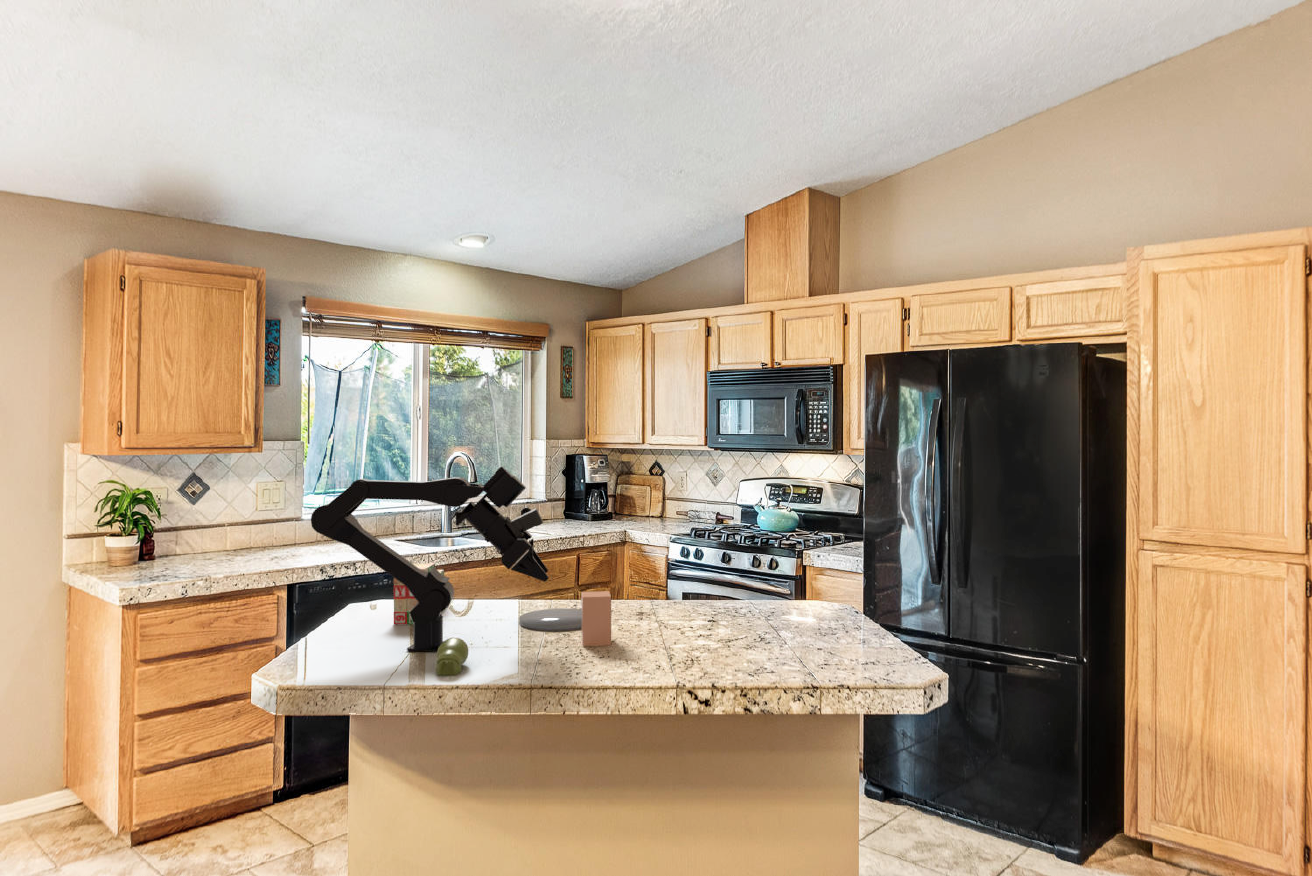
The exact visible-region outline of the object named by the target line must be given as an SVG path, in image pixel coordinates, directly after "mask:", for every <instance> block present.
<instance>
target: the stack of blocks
mask: <svg viewBox="0 0 1312 876" xmlns="http://www.w3.org/2000/svg"><path fill="white" fill-rule="evenodd" d="M411 563H412V564H413V565H414V566H416V567H417V568H419V569H421V570H423V571H426V572H429V571H430V570H431V569H432V568H433V567H434V568H435V563H434V562H433V563H431V562H430V563H429V562H428V563H424V562H423V563H413V562H411ZM437 570H438V571H439V572H440V573H441V574H442V575H443V576H445V570H444V569H437ZM417 603H418V601H417V600H416V599H415V598H414V596H413V595H412V593H411V592H410V591H409V589H408V588H407V587H406V586H405V585H404V584H402V583H401V582H400V581H398V580H397V579H395V578H394V577H393V625H394V624H407V625H413V620H412V618H411V615H410V611H411V610H412V609H413V608H414V607H415V605H416V604H417Z"/></svg>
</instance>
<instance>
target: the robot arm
mask: <svg viewBox="0 0 1312 876" xmlns="http://www.w3.org/2000/svg"><path fill="white" fill-rule="evenodd" d="M526 489H527V487H526V486H525V485H524V484H523V483H522V482H521V481H520V479H519V478H518V477H516V476H515V475H513V474H511V473H510V472H509V471H508V470H507V469H506V468H504V467H503V466H499V468H498V469H496V471H495V473H494V474H493V475H492V476H491V477H490V478H489V480H487V481H486V483H485V484H481V483H470V482H469V480H467V479H466V478H464V477H462V476H455V477H448V478H441V479H435V480H429V481H417V480H416V481H415V480H414V481H411V480H383V479H382V480H380V479H379V480H378V479H377V480H374V479H369V478H368V479H367V478H359V479H356V480H355V481H352V483H351V485H349V486H348V488H346V489H345V490H344V491H343V492H342V493H340V494H339V495H338V496H337V497H335V498H334V499H333V500H332V501H330V502H329V503H327V504H324V505H321V506H319V507H317V508H315V510H313V512H312V513H311V517H310V524H311V528H312V529H313V530H314V531H315V532H317V533H318V534H320V535H322V536H324V537H326V538H328V539H331V540H333V541H336V542H339V543H341V544H345V545H346V546H349V547H350V548H351V549H353V550H355V551H356V552H357V553H359V554H360V555H362V556H363V557H364V558H366V559H368V561H370V562H371V563H373V564H374V565H376V566H377V567H378V568H380V569H381V570H383V571H384V572H386V573H387V575H390V576H391V577H393V579H394V578H395V579H397V580H398V581H400V582H401V583H402V584H404V585H405V586H406V587H407V588H408V589H409V591H410V592H411V593H412V595H413V596H414V598H415V599H416V600H417V601H418V603H417V604H416V605H415V607H414V608H413V609H412V610H411V611H410V615H411V618H412V620H413V624H412V625H413V643H412V644H411V645H410V646H408V647H406V651H408V652H409V651H410V652H411V651H412V652H437V651H438V648H439V646H440V645H441V644H442V643H443V642H444V641H445V640H443V639H444V638H443V637H444V636H443V634H444V628H443V627H444V625H443V624H444V622H443V621H444V619H443V618H444V616H443V615H442V613H443V612H444V611H445V610H446V609H448V607H449V606H450V604H451V602H452V601H453V599H454V596H455V588H454V586H453V584H452V583H451V582H450V581H449V580H450V577H449V576H445V575H444V576H443V575H442V574H441V573H440V572H439V571H438V570H439V569H437V568H435V566H434V567H433V568H432V569H431V570H430V571H429V572H426V571H423V570H421V569H419V568H417V567H416V566H414V565H413V564H412V563H413V562H410V561H409V560H408V559H406V558H405V557H403V556H402V555H401V554H399V553H398V552H397V551H395V550H393V549H392V548H391V547H389V546H388V545H386V544H385V543H384V542H383V541H381V540H380V539H378V538H377V537H376V536H374V535H373V534H371V533H370V532H368V531H367V530H365V528H363V527H362V526H361V525H362V524H360V522H359V520H358V519H357V518H356V517H355V516H354V515H353V514H352V513H354V512H355V511H356V509H358V508H359V507H360V506H361V505H362V504H363V503H364V502H365V501H366V500H373V499H374V500H398V501H399V500H403V501H405V500H406V501H407V500H408V501H410V500H411V501H424V502H429V503H433V504H437V505H441V506H447V507H452V508H458V507H460V506H463V505H464V504H465V503H467V502H468V501H469V500H470V499H474V498H477V497H479V496H480V495H481V494H482V493H483V492H485V494H484V495H483V496H482V497H481V498H480V499H479V500H478V501H477V502H476V503H475V502H473V501H470V502H468V503H467V505H465V507H464V508H463V509H462V510H461V511H459V510H457V511H455V512H454V515H455V526H460V525H461V524H462V523H463V521H466V522H467V523H469V525H471V527H472V528H473V529H474V530H476V531H477V532H478V533H479V534H480V535H481V536H482V537H483V538H484V541H485V542H487V543H490V544H491V545H492V546H493V547H494V548H495V549H496V550H497V551H498V552H499V555H501V564H502V565H503V566H504V567H505V568H506V569H507V570H511V571H513V572H517V573H520V574H522V575H526V576H527V577H528V576H529V577H531V578H534V579H537V580H539V581H542V582H547V581H548V579H549V576H548V574H547V573H548V572H549V569H548V568H547V566H546V564H545V563H544V562H543V561H542V559H541V557H540V556H539V555H538V553H537V552H536V550H535V549H534V538H533V537H532V534H530V532H528V530H530V529H532V528H534V527H538V526H540V525H542V524H543V523H544V520H543V518H542V516H541V514H540V512H539V510H538V508H537V507H536V508H530V507H528V506H526V507H524V508H522V509H520V515H519V516H517V517H515V518H513V519H511V518H510V517H509V516H504V515H503V514H502V513H501V512H499V511H498V510H497V508H498V509H501V508H502V507H505V508H509V506H510V505H511V504H512V503H513V502H514V501H515V500H516V499H517V498H518V497H519V496H520V495H522V493H523V492H524V491H525V490H526ZM486 498H487V499H488V500H489V501H490V502H491V503H492V504H494V505H495V506H496V507H497V508H495V506H493V505H492V504H491V503H490V502H489V501H488V500H487V499H486Z"/></svg>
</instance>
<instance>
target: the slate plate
mask: <svg viewBox="0 0 1312 876" xmlns="http://www.w3.org/2000/svg"><path fill="white" fill-rule="evenodd" d="M518 619H519V620H518V622H519V623H518V624H519V625H520V627H523V628H525V629H529V630H534V631H544V632H546V631H547V632H561V631H563V632H564V631H576V630H582V623H581V609H579V608H548V609H539V610H538V609H537V610H533V611H529V612H526V613H523V614H521V615H520V616H519V617H518Z"/></svg>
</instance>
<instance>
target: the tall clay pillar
mask: <svg viewBox="0 0 1312 876" xmlns="http://www.w3.org/2000/svg"><path fill="white" fill-rule="evenodd" d="M580 595H581V599H580V601H581V623H582V629H581V644H582V647H596V646H597V647H602V646H605V647H606V646H612V595H611V593H610V591H609V590H606V591H604V590H603V591H601V590H600V591H581V594H580Z"/></svg>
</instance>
